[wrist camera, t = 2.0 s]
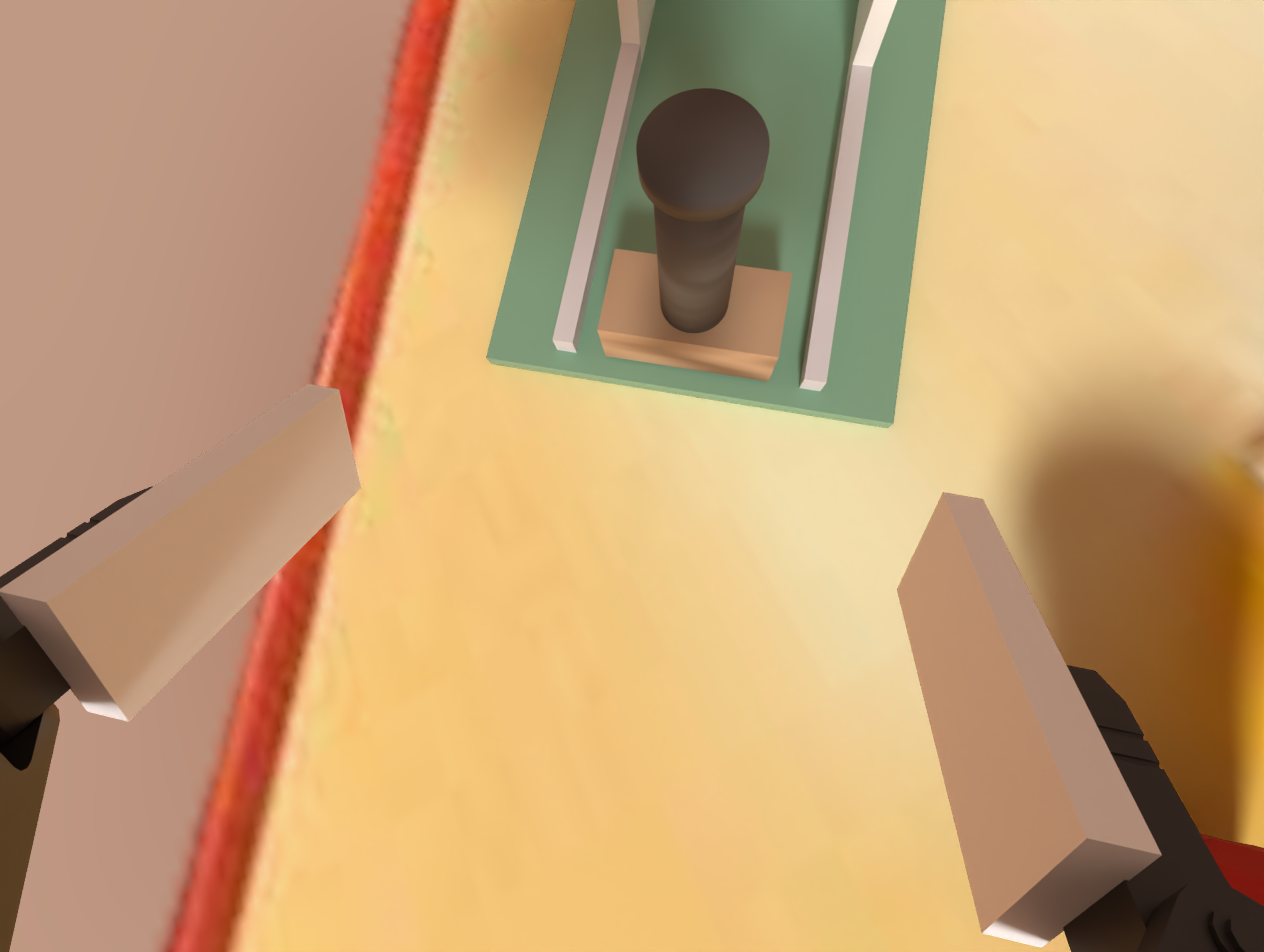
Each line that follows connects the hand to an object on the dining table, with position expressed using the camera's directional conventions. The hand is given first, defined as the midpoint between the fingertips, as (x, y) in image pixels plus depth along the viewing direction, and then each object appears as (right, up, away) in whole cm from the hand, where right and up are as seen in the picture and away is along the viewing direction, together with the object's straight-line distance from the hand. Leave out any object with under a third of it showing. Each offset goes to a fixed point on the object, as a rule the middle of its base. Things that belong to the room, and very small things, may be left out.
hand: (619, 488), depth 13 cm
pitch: (+5, +17, +19) cm, 26 cm away
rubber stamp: (+3, +7, +17) cm, 19 cm away
